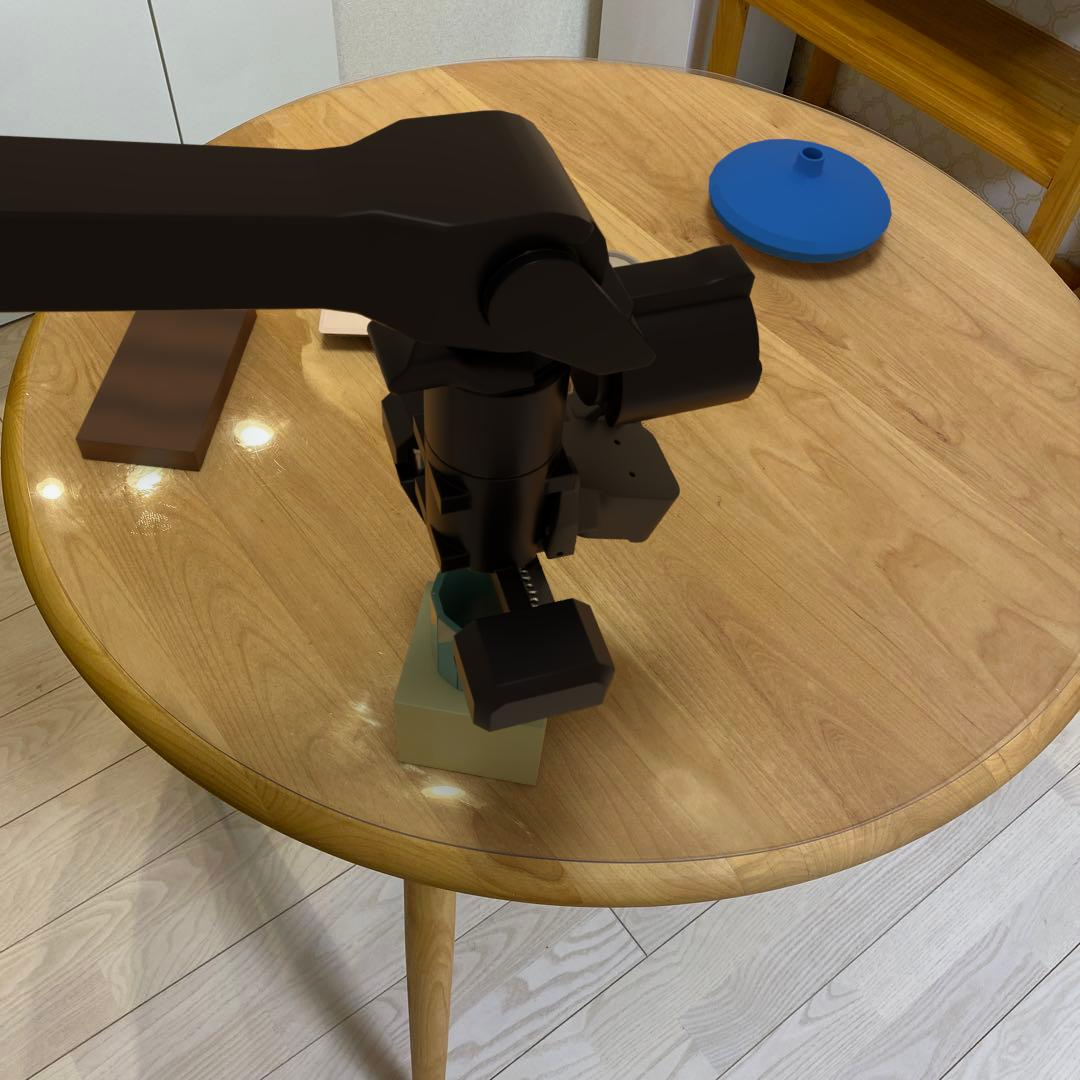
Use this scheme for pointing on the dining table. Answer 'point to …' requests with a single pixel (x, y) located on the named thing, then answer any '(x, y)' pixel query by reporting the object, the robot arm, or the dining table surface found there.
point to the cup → (458, 613)
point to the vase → (799, 200)
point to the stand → (455, 721)
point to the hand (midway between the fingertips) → (482, 630)
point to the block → (166, 388)
